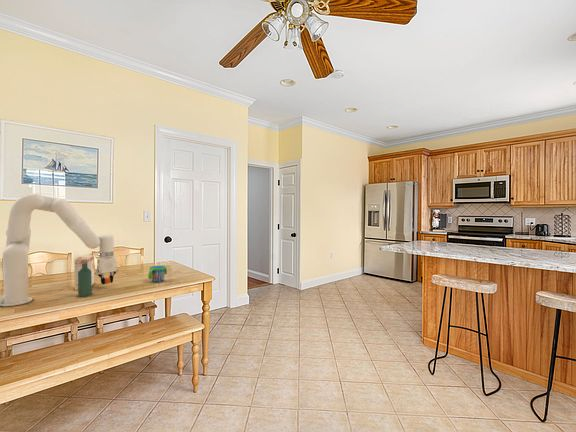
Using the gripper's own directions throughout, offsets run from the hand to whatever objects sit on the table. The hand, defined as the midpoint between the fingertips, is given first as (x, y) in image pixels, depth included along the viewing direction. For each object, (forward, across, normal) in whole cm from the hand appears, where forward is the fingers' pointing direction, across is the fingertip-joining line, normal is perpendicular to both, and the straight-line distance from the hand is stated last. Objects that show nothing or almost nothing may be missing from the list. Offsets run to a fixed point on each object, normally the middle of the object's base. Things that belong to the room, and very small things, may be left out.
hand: (107, 282), depth 178 cm
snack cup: (+4, +30, -7) cm, 31 cm away
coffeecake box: (+4, -6, +17) cm, 19 cm away
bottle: (+4, -13, -4) cm, 14 cm away
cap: (0, 0, 0) cm, 0 cm away
